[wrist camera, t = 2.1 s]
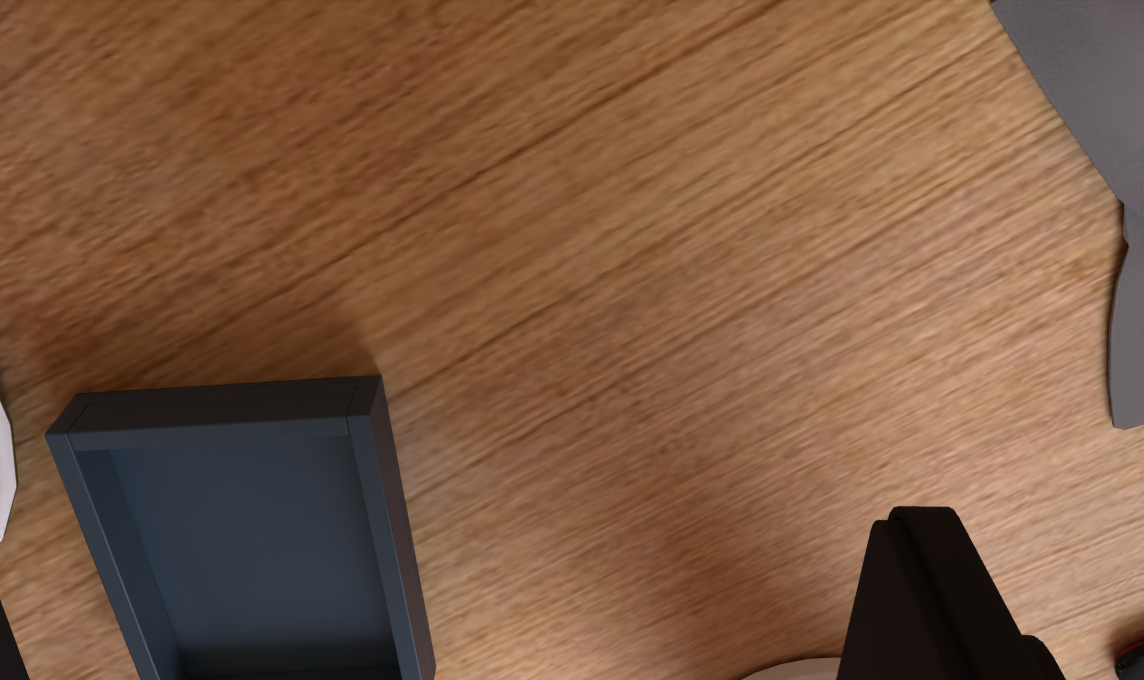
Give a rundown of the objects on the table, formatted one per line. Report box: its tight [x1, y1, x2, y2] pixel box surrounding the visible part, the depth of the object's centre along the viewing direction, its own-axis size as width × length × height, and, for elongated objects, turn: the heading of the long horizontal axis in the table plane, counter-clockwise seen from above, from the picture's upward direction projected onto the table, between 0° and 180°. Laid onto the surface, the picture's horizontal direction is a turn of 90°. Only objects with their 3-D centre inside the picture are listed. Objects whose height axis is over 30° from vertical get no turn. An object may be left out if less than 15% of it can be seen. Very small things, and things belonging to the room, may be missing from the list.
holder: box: [45, 375, 436, 680], centre depth 38 cm, size 11×15×3 cm
